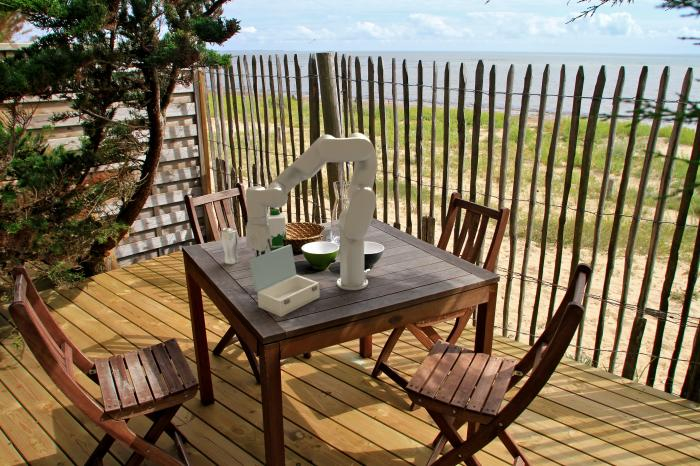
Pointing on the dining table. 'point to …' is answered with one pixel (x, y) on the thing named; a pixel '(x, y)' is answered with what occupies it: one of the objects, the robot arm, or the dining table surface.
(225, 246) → the beer glass
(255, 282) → the lid
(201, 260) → the dining table surface
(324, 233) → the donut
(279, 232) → the milk carton
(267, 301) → the box
